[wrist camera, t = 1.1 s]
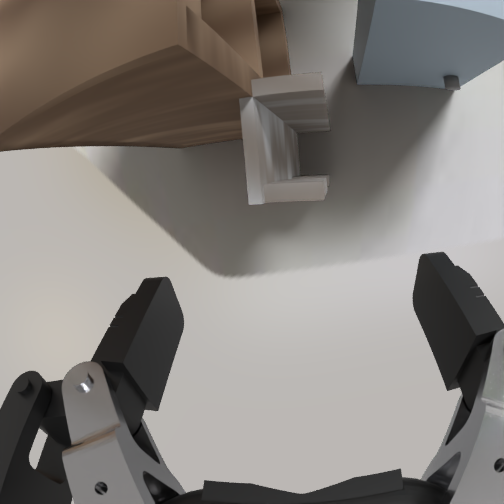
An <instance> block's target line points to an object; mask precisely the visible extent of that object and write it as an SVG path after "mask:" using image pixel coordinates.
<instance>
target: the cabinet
mask: <svg viewBox="0 0 504 504" xmlns="http://www.w3.org/2000/svg"><path fill="white" fill-rule="evenodd" d="M320 131H330V124H329V116H328V109H327V103H326V96H325V90H324V84H323V78H322V73H321V72H317V73H303V74H293V75H291V69H290V61H289V53H288V46H287V39H286V32H285V26H284V19H283V13H282V7H281V5H280V2H279V0H0V152H1V151H10V150H21V149H35V148H50V147H75V146H139V147H165V148H185V147H191V146H197V145H203V144H209V143H216V142H223V141H230V140H238V139H243V147H244V159H245V170H246V181H247V192H248V203H249V205H256V204H263V203H270V202H291V201H319V200H325V196H326V193H327V187H329V184H330V179H329V174H321V175H300V162H299V150H298V139H297V134H298V133H303V132H320Z"/></svg>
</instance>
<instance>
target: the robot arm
mask: <svg viewBox="0 0 504 504" xmlns="http://www.w3.org/2000/svg"><path fill="white" fill-rule="evenodd" d="M413 307H414V310H415V313H416V315H417V317H418V320H419V321H420V324H421V326H422V328H423V331H424V333H425V335H426V338H427V340H428V342H429V345H430V347H431V350H432V352H433V355H434V357H435V359H436V362H437V364H438V367H439V370H440V372H441V375H442V378H443V380H444V383H445V386H446V389H447V391H449V390H452V389H456V388H459V387H460V389H461V391H462V395H461V396H460V398H459V400H458V403H457V406H456V409H455V411H454V414H453V417H452V420H451V422H450V425H449V427H448V430H447V432H446V435H445V437H444V439H443V442H442V444H441V446H440V448H439V450H438V452H437V454H436V456H435V457H434V458H433V460H432V461H431V463H430V464H429V466H428V468H427V469H426V471H425V473H424V474H423V476H422V478H421V480H419V479H414V478H405V477H402V474H401V469H397V470H393V471H388V472H383V473H378V474H373V475H367V476H361V477H354V478H352V479H349V480H346V481H343V482H341V483H338V484H335V485H332V486H329V487H326V488H323V489H320V490H316V491H313V492H310V493H306V494H297V493H292V492H287V491H282V490H277V489H272V488H268V487H263V486H259V485H255V484H250V483H248V484H247V483H229V482H216V481H206V480H205V481H204V486H203V489H200V490H196V491H191V492H188V493H186V492H185V491H184V489H183V488H182V486H181V485H180V483H179V482H178V480H177V479H176V478H175V477H174V476H173V474H172V473H171V472H170V471H169V469H168V468H167V466H166V464H165V462H164V461H163V458H162V457H161V455H160V453H159V451H158V449H157V447H156V444H155V442H154V440H153V438H152V436H151V434H150V432H149V430H148V428H147V425H146V423H145V421H144V419H143V418H142V416H143V413H144V410H153V411H158V409H159V405H160V402H161V399H162V396H163V392H164V389H165V386H166V383H167V379H168V376H169V373H170V370H171V367H172V363H173V360H174V357H175V354H176V351H177V348H178V344H179V341H180V338H181V335H182V332H183V328H184V318H183V313H182V310H181V307H180V305H179V302H178V300H177V297H176V294H175V292H174V289H173V286H172V283H171V281H170V279H169V278H168V277H157V278H146V279H144V280H143V282H142V283H141V285H140V287H139V289H138V290H137V292H136V294H132V295H131V296H130V297H129V298H128V299H127V300H126V301H125V302H124V303H122V305H121V306H120V308H119V310H118V312H117V313H116V315H115V318H114V319H113V321H112V322H111V324H110V327H109V328H108V329H107V331H106V333H105V335H104V337H103V339H102V341H101V343H100V344H99V346H98V348H97V350H96V352H95V354H94V356H93V358H92V360H91V361H89V362H83V363H80V364H78V365H76V366H74V367H73V368H72V369H71V370H69V372H68V373H67V374H66V376H65V377H64V379H63V380H58V381H52V382H46V381H45V380H44V379H43V378H42V376H41V375H40V374H39V373H38V372H36V371H28V372H25V373H23V374H22V375H20V376H19V377H18V378H17V379H16V380H15V382H14V383H13V385H12V387H11V389H10V391H9V393H8V394H7V397H6V399H5V401H4V403H3V405H2V407H1V409H0V504H71V501H72V497H73V500H74V503H75V504H504V323H503V322H502V320H501V318H500V317H499V315H498V314H497V312H496V311H495V309H494V308H493V306H492V305H491V304H490V302H489V300H488V299H487V297H486V296H484V293H483V292H482V290H481V289H480V287H478V285H477V283H476V282H475V281H474V279H473V278H472V276H471V275H470V274H469V273H467V272H466V271H465V270H463V269H462V268H460V267H459V266H454V264H453V263H452V261H451V260H450V259H449V258H448V256H447V255H446V254H445V253H444V252H437V253H428V254H422V255H421V256H420V259H419V264H418V269H417V275H416V280H415V286H414V291H413ZM39 428H40V429H41V430H43V431H44V432H45V433H46V434H48V437H47V439H46V442H45V445H44V448H43V450H42V453H41V456H40V459H39V462H38V466H37V468H36V469H33V468H32V466H31V465H30V462H29V453H30V450H31V447H32V445H33V442H34V439H35V437H36V434H37V432H38V429H39Z"/></svg>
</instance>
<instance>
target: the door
mask: <svg viewBox="0 0 504 504" xmlns="http://www.w3.org/2000/svg"><path fill="white" fill-rule="evenodd" d="M503 60H504V0H358V10H357V20H356V30H355V39H354V48H353V62H354V68H355V74H356V80H357V85H363V84H371V85H405V86H421V87H433V88H443V89H447V90H460V86H462V85H464V84H465V83H467V82H468V81H470V80H472V79H473V78H475V77H477V76H478V75H480V74H482V73H483V72H485V71H487V70H488V69H490V68H492V67H493V66H495V65H497V64H498V63H500V62H502V61H503Z"/></svg>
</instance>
